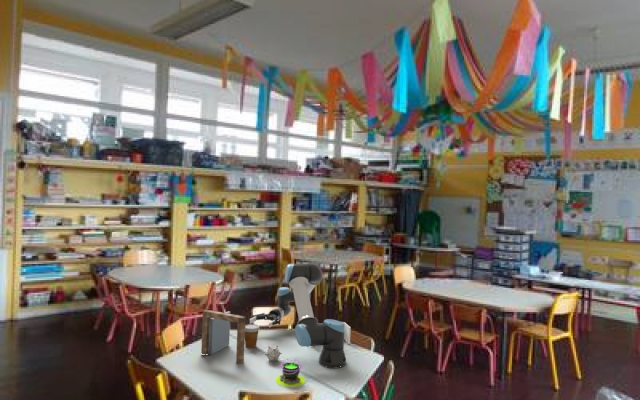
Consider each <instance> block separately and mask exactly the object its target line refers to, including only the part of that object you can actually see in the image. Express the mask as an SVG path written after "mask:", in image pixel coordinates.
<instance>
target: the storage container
mask: <svg viewBox="0 0 640 400" xmlns="http://www.w3.org/2000/svg"><path fill="white" fill-rule="evenodd" d="M341 322H342V323H343V324H344V331H345V333H344V342H346V344H347V345H348V344H350V345H351V330H352V329H351V326H350V325H348V324H347V323H346V322H345V321H341ZM318 324H320V322H318ZM310 348H314V346H310Z"/></svg>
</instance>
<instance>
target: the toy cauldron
mask: <svg viewBox="0 0 640 400" xmlns="http://www.w3.org/2000/svg"><path fill="white" fill-rule="evenodd" d="M291 358H292V361H291V362H285V360H283V363H281V364H280V365H279V366H278V367H279V368H280V369H281V372H282V374H281V375H278V376H277V377H276V378H275V383H276V384H277V385H279V386H282V387H285V388H286V387H287V388H296V387H300V386H302V385H304V384H305V383H306V378H305V377H304V376H302V375H300V371H301V370H302V369H303V365H302V364H300V363H298V362H299V361H298V360H297V359H296V361H297V362H294V361H295V358H294V357H291ZM289 360H290V358H287V361H289Z"/></svg>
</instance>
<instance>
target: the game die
mask: <svg viewBox="0 0 640 400" xmlns="http://www.w3.org/2000/svg"><path fill="white" fill-rule="evenodd" d="M278 347H279V346H278V345H277V346H275V347H270V346H268V350H267V352H266V353H265V356H266V357H267V359H268V362H269V363H271V362H276V361H277V362H279V359H280V356H281V355H282V354H283V353H282V352H280V350H279V348H278Z"/></svg>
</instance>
